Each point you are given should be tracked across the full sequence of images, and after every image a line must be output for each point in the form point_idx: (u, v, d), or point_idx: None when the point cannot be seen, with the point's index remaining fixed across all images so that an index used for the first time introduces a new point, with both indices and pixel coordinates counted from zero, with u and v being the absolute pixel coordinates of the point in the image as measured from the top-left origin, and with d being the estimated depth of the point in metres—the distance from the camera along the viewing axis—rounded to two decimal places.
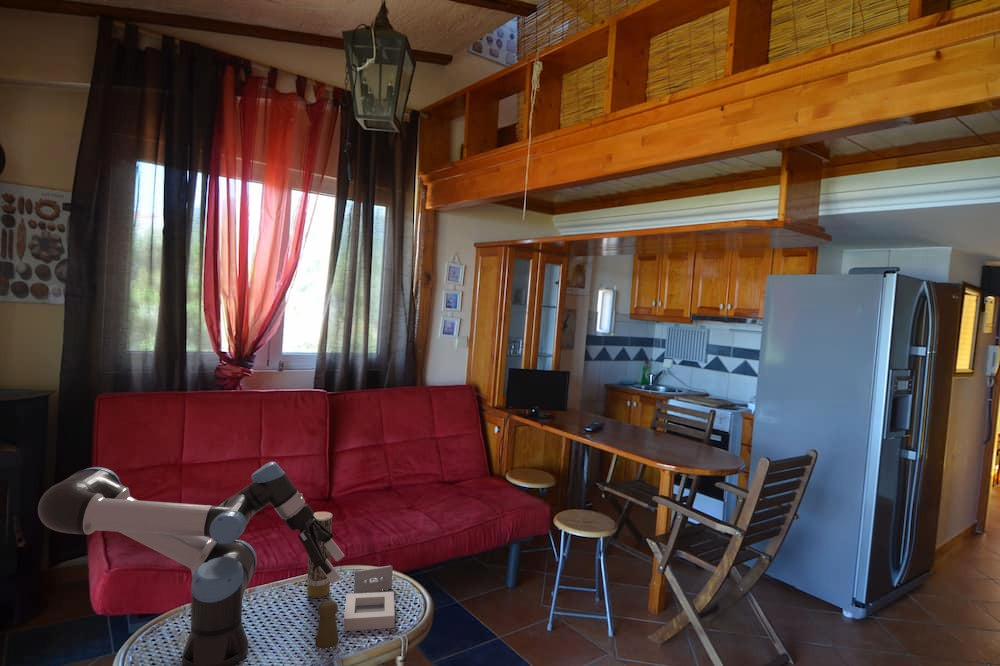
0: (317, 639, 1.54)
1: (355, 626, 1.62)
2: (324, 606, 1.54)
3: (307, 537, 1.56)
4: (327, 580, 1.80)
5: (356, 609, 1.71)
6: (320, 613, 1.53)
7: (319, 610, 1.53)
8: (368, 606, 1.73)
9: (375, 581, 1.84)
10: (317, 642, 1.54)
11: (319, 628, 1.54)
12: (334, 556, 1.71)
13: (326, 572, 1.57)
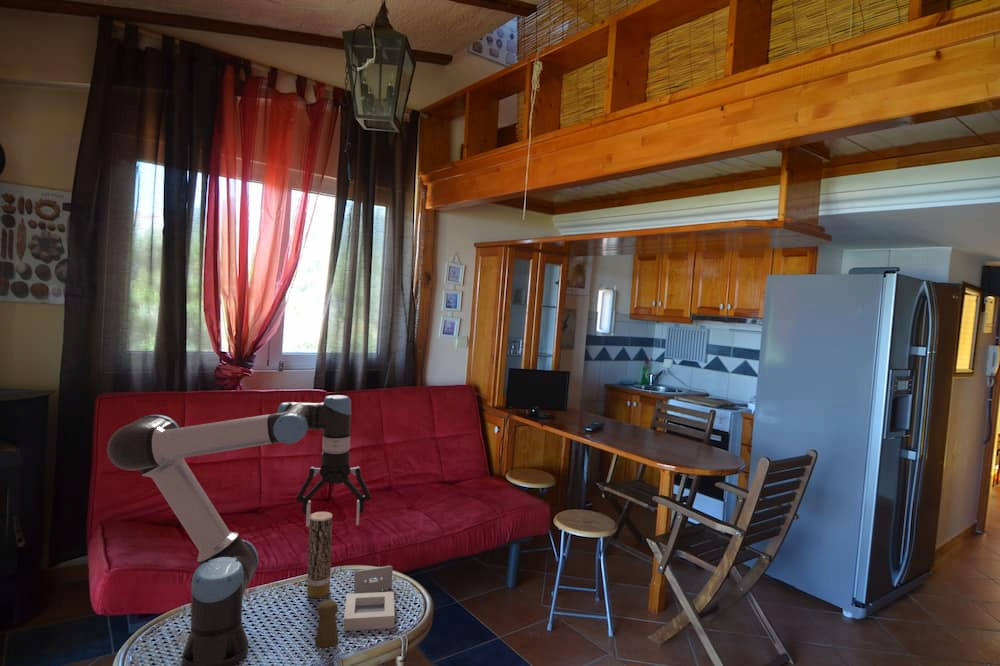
0: (317, 639, 1.54)
1: (355, 626, 1.62)
2: (324, 606, 1.54)
3: (309, 474, 1.61)
4: (327, 580, 1.80)
5: (356, 609, 1.71)
6: (320, 613, 1.53)
7: (319, 610, 1.53)
8: (368, 606, 1.73)
9: (375, 581, 1.84)
10: (317, 642, 1.54)
11: (319, 628, 1.54)
12: None
13: (303, 510, 1.62)
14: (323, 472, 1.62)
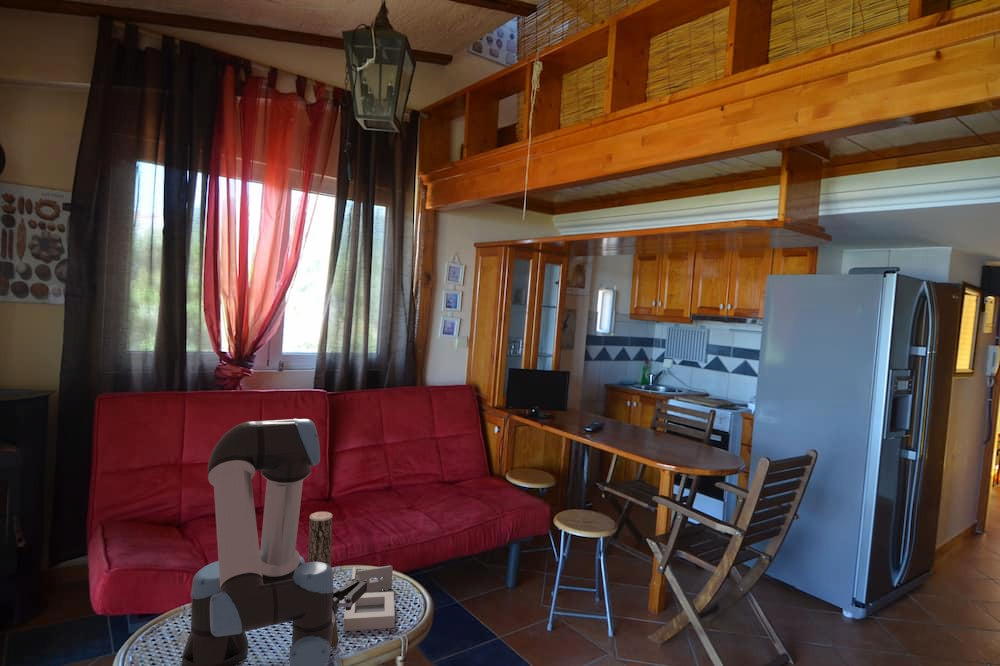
0: None
1: (355, 626, 1.62)
2: None
3: None
4: None
5: (356, 609, 1.71)
6: None
7: None
8: (368, 606, 1.73)
9: (375, 581, 1.84)
10: None
11: None
12: (352, 571, 1.45)
13: None
14: None
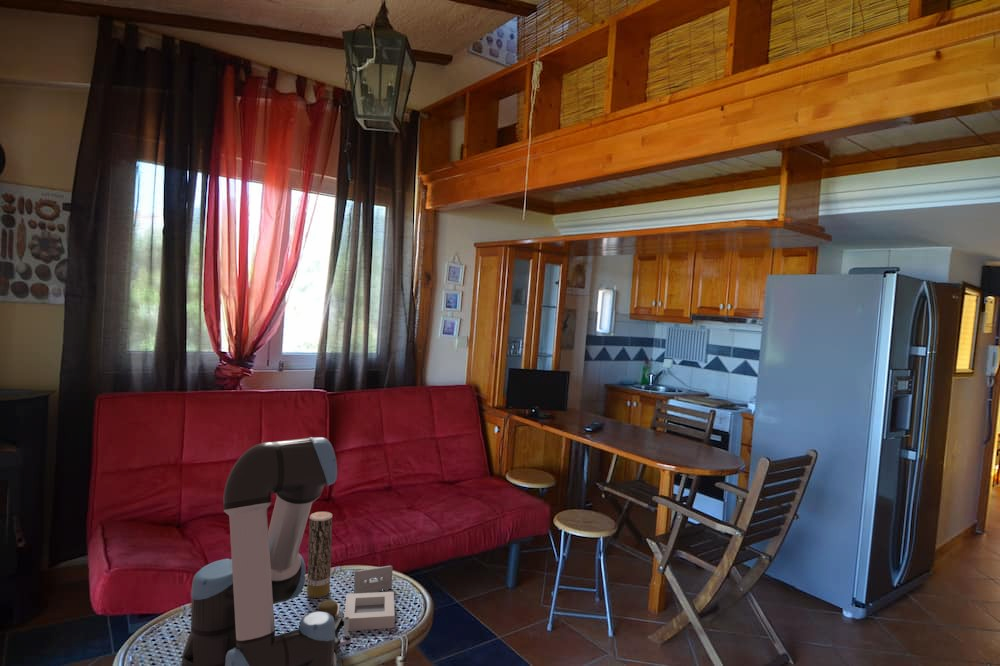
0: None
1: (355, 626, 1.62)
2: (324, 606, 1.54)
3: None
4: (327, 580, 1.80)
5: (356, 609, 1.71)
6: None
7: (319, 610, 1.53)
8: (368, 606, 1.73)
9: (375, 581, 1.84)
10: None
11: None
12: None
13: None
14: None
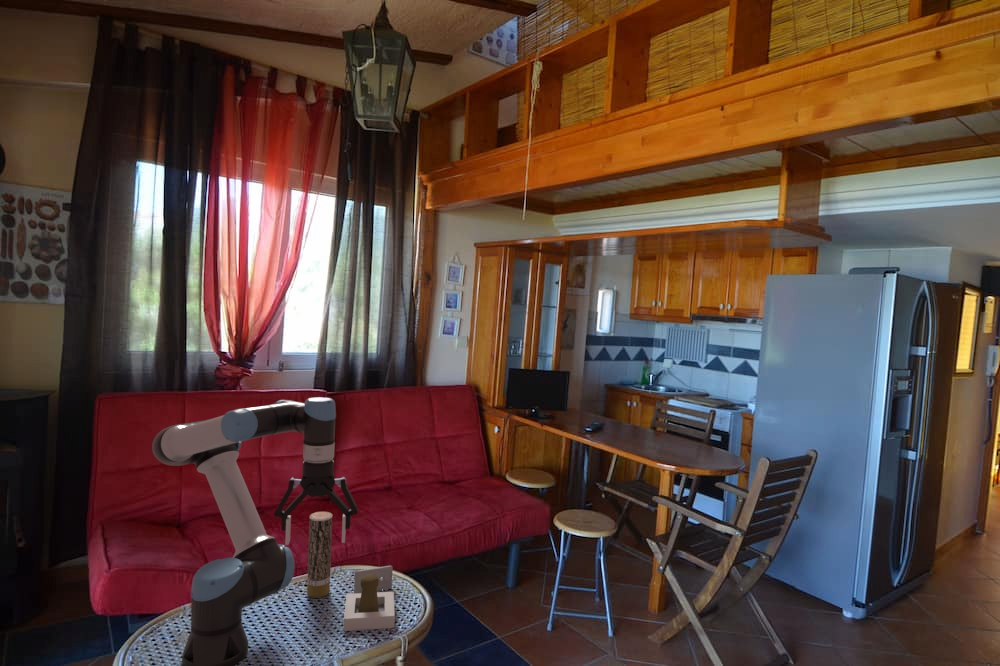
0: (360, 610, 1.67)
1: (355, 626, 1.62)
2: (366, 579, 1.67)
3: None
4: (327, 580, 1.80)
5: (356, 609, 1.71)
6: (363, 586, 1.67)
7: (362, 583, 1.67)
8: None
9: None
10: (360, 612, 1.67)
11: (362, 599, 1.67)
12: None
13: None
14: (304, 484, 1.44)
